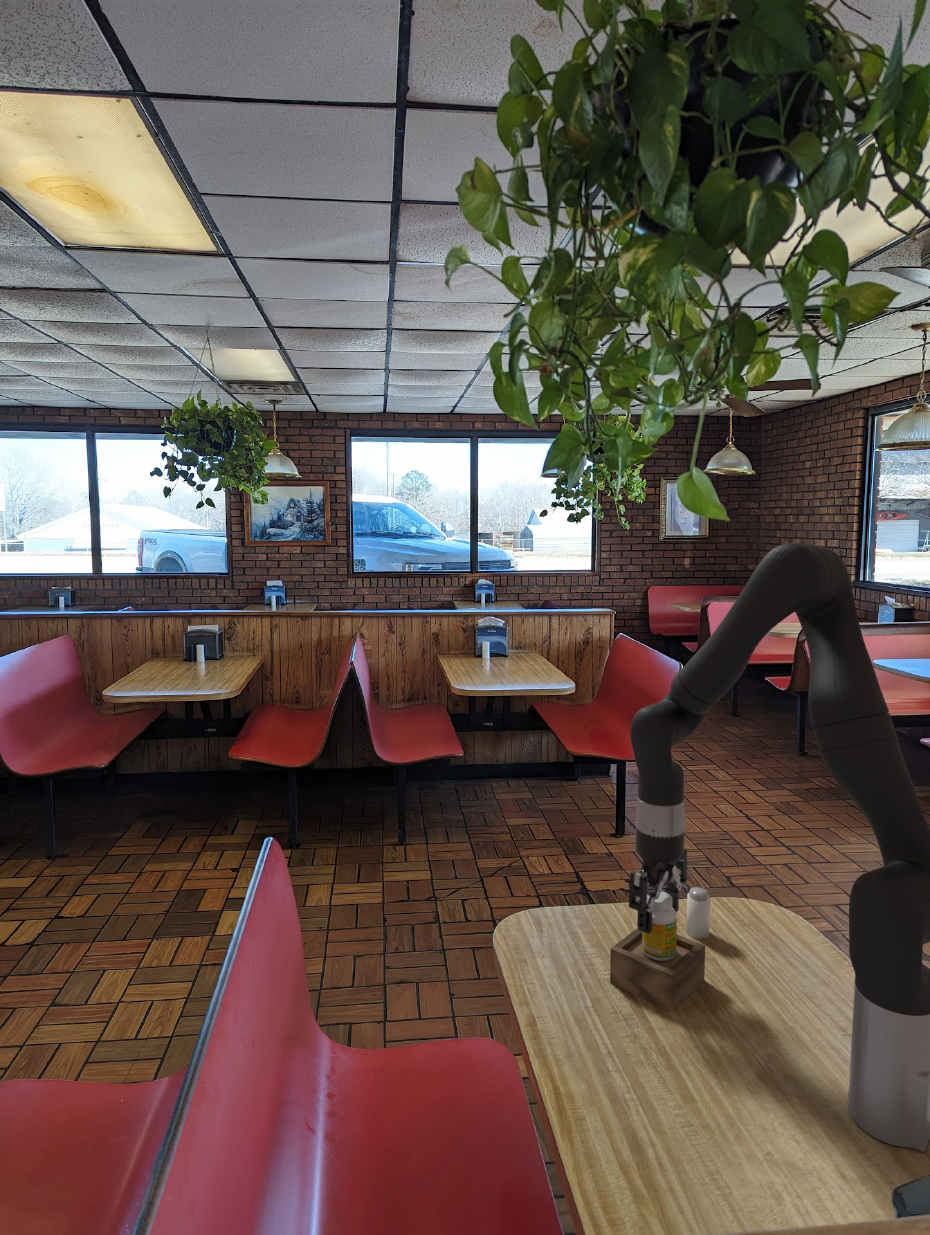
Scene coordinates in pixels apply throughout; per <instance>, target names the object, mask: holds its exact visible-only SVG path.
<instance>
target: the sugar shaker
mask: <svg viewBox="0 0 930 1235" xmlns="http://www.w3.org/2000/svg"><path fill="white" fill-rule="evenodd" d="M686 899H687V900H686V934H687V935H688V934H689V935H688V936H689V937H691V938H693V939H697V938H698V939H699V940H702V938H704V939H707V938H708V937H709V936H710V924H711V923H710V922H711V921H710V919H711V918H710V917H711V896H710V895H709V891H708V889H705V888H703V887H700V886H699V887H698V886H696V887H695V886H694V887H692V888H690V889H689V892H687V896H686ZM698 939H697V940H698Z"/></svg>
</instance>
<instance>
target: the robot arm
mask: <svg viewBox="0 0 930 1235" xmlns="http://www.w3.org/2000/svg"><path fill="white" fill-rule="evenodd" d="M851 582H852V581H851V578H850V574H849V571H848V568H847V566H846V564H845V562H844V561H843V558H841V557H840V556H839V555H838V553H836V552H835V551H834V550H832V549H830V548H829V547H825V546H823V545H818V544H811V543H805V542H804V543H802V542H788V543H782V544H780V545H778V546H776V547H773V548H772V549H771V550H770V551H768V553H766V554H765V555H764V557H763V558H762V560H761V561H760V562H759V564H758V565H757V567H756V568H755V569H754V571H753V573H752V575H751V576H750V578H749V579H748V580H747V583H746V584H745V586H744V587H743V589H742V590H741V592H740V594H739V595H738V597H737V598H736V600H734V602H733V604H732V606H731V608H729V610H728V612H727V613H726V615H725V616H724V618H723V619H722V620H721V622H720V623H719V625H718V626H717V628H716V629H714V632H712V634H711V635H710V636H709V637H708V639H707V640H706V642H704V644H703V645H701V647H700V648H699V649H698V651H697V652H696V653H695V654H694V655H693V656H692V657H691V658H690V659H689V660H688V662H686V663H685V665H684V666H683V667H682V668H681V670H679V672H678V673H676V675H675V676H674V678H673V679H672V681H671V683H670V691H669V692H668V694H667V695H665V697H664V698H662V699H661V700H660V701H659V702H655V703H653V704H650V705H647V706H644V707H642V708H640V709H638V711H637V712H636V713H635V714H634V715H633V718H632V720H631V723H630V731H629V734H630V735H629V736H630V741H631V742H630V743H631V748H632V751H633V755H634V760H635V765H636V768H637V771H638V783H637V786H638V789H637V792H638V794H637V804H636V809H635V810H636V813H635V851H636V853H637V854H638V855H639V856H640V858H641V860H642V864H641V869H640V871H635V870H632V871H631V872H630V875H629V890H628V891H629V893H628V907H629V908H630V909H632V910H635V911H637V924H636V925H637V928H638V929H639V930H640V931H642V932H645V933H647V934H649V933H650V932H651V931H652V908H653V905H654V902H655V900H656V899H658V898H659V896H660V893H661V891H662V890H663V888H664V887H665V886H666V887H665V888H664V892H666V893H668V894H670V895H671V896H672V908H673V909H674V910H675V911H676V913H678V912H679V907H680V906H679V905H680V904H679V902H680V901H679V899H680V898H679V897H680V891H681V889H682V886H683V885H682V884H686V883H687V880H688V850H687V849H686V848H685V832H686V830H685V829H686V828H685V827H686V826H685V821H686V815H685V814H686V812H685V804H684V802H685V801H684V800H685V799H684V798H685V797H684V794H685V790H684V788H685V774H684V769H683V767H682V765H681V764H679V763H678V762H677V761H675V760H673V755H672V747H673V746H675V745H677V744H680V743H682V742H683V741H685V740H686V739H688V737H690V736H691V735H692V734H693V733H694V732H695V731H696V730H697V728H698V727H699V725H701V723H702V721H703V720H704V718H705V717H706V716H707V714H708V712H709V710H710V709H711V708H712V707H714V706H715V705H717V703H718V702H719V701H720V700H721V699H722V698H723V697H724V696H725V695H726V694H727V692H729V691H730V690H731V689H732V688H733V686H734V685H735V684H736V683H737V682H738V681H739V679H740V678H741V676H742V675H743V673H744V671H745V670H746V669H747V666H748V663H749V662H750V659H751V658H752V655H753V654H754V651H755V650H756V648H757V647H758V646H759V644H760V643H761V641H762V640H763V638H765V637H766V635H767V634H768V633H769V632H770V631H771V630H772V629H774V628H775V627H776V626H777V625H779V624H781V622H783V621H784V620H785V619H786V618H788V617H789V616H790V615H792V614H794V613H795V614H796V617H797V618H798V621H799V624H800V626H801V630H802V631H803V632H802V633H803V635H804V638H805V641H806V645H807V648H808V654H809V663H810V664H809V679H808V680H809V682H808V683H809V684H808V697H807V698H808V700H807V702H808V703H807V705H808V715H809V720H810V723H811V728H812V731H813V734H814V737H815V741H816V743H817V748H818V751H819V754H820V756H821V759H822V761H823V764H824V766H825V768H826V769H827V771H828V772H829V774H830V775H831V777H832V778H833V780H834V781H835V782H836V783H837V784H838V785H839V786H840V787H841V789H842V790H843V791H844V792H845V793H846V795H847V796H848V797H849V798H850V799H851V800H852V801H853V802H854V803H855V805H856V806H857V807H858V808H859V809H860V810H861V812H862V813H863V815H864V816H865V818H866V819H867V821H868V822H869V824H870V826H871V828H872V831H873V833H874V836H875V839H876V842H877V844H878V848H879V851H880V853H881V859H882V862H883V866H881V867H878V868H875V869H872V870H870V871H866V872H864V873H863V874H861V875H860V876H858V877H857V878H856V879H855V881H854V883H853V885H852V888H851V890H850V894H849V902H848V952H849V959H850V963H851V965H852V968H853V970H854V988H853V989H854V990H853V991H854V993H853V1008H852V1009H853V1010H852V1027H851V1043H850V1044H851V1045H850V1046H851V1047H850V1062H849V1064H850V1066H849V1081H848V1082H849V1083H848V1084H849V1085H848V1095H847V1096H848V1102H847V1105H848V1106H847V1107H848V1111H849V1114H850V1117H851V1118H852V1120H853V1121H854V1122H855V1123H856V1124H857V1125H858V1127H860V1128H861V1129H862V1130H863V1131H864V1132H865V1133H867V1134H868V1135H870V1136H871V1137H873V1138H874V1139H876V1140H879V1141H881V1142H883V1143H886V1144H889V1145H891V1146H894V1147H899V1148H910V1149H915V1150H917V1151H919V1152H922V1153H924V1152H925V1151H926V1150H927V1147H928V1144H929V1143H930V967H928V966H927V965H925V964H924V963H923V952H924V951H923V947H924V945H926V944H928V943H930V826H929V823H928V821H927V819H926V817H925V814H924V811H923V809H922V806H921V803H920V801H919V797H918V795H917V792H916V789H915V786H914V783H913V780H912V778H911V775H910V772H909V770H908V767H907V765H906V761H905V757H904V755H903V751H902V748H901V744H900V741H899V737H898V733H897V732H896V728H895V726H894V725H895V724H894V723H893V719H892V715H891V713H890V710H889V708H888V707H889V706H888V705H887V702H886V700H885V697H884V694H883V691H882V689H881V686H880V682H879V679H878V677H877V674H876V671H875V668H874V665H873V663H872V659H871V656H870V653H869V652H868V648H867V646H866V643H865V640H864V636H863V632H862V629H861V625H860V620H859V616H858V611H857V606H856V602H855V597H854V591H853V588H852V583H851ZM678 870H680V873H679V872H678ZM648 887H649V888H650V889H654V890H650V889H648ZM647 895H648V896H649V900H648V903H647Z"/></svg>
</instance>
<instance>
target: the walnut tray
mask: <svg viewBox="0 0 930 1235" xmlns="http://www.w3.org/2000/svg"><path fill="white" fill-rule="evenodd" d="M609 956H610V960H609V961H610V964H609V965H610V967H609V970H610V973H609V974H610V976H609V978H610V980H609V983H610V984H612V985H614V986H616V987H618V988H620V989H623V990H625V991H627V992H629V993H631V994H633V995H636V996H638V997H639V998H641V999H643V1000H645V1001H648V1002H650V1003H652V1004H654V1005H656V1006H658V1007H661V1008H662V1009H665V1010H666V1011H668V1012H671V1013H672V1011H674V1010H675V1009H676V1008H678V1006H679V1005H680V1004H681V1003H682V1002H684V1000H685V999H686V998H687V997H688V996H690V994H691V993H693V991H695V990H696V989H697V988H698V986H700V985H701V984H702V983H703V982H704V981H705V972H706V968H705V966H706V945H704V944H701V943H700V942H697V941H695V940H692V939H689V938H687V937H684V936H682V935H679V934H677V937H676V955H675V957H674V958H673V959H671V960H668V961H657V960H653V959H651V958H649V957H647V956H646V955H645V954H644V953H643V950H642V931H640V930H639V929H638V927H637V928H636V929H634V930H633V931H631V932H630V933H629V934H628V935H626V936H625V937H624V938H623V939H621V940H619V941H618V942H616V944H615V945H613V946H612V947H610V954H609Z"/></svg>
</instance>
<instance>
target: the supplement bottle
mask: <svg viewBox="0 0 930 1235" xmlns="http://www.w3.org/2000/svg"><path fill="white" fill-rule="evenodd" d="M648 900H649V896H648V895H647V903H648ZM677 920H678V915H677V912H676V911H675V910H674V909H673V908H672V896H671V895H670V894H668V893H666V892H665V891H662V890H661V893H660V896H659V898H658V899H656V900H655V902H654V905H653V908H652V931H651V932H650V933H649V934H647V933H645V932H642V950H643V953H644V954H645V955H646V956H647V957H649V958H651V959H653V960H657V961H668V960H671V959H673V958H674V957H675V955H676V937H677V935H678V933H677V927H678V925H677V924H678V922H677Z"/></svg>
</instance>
